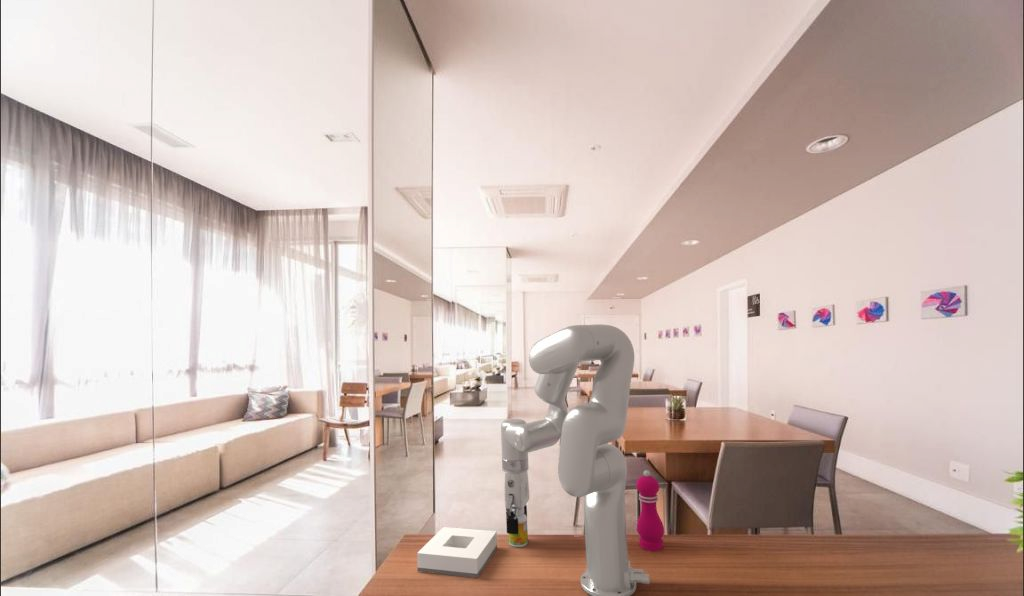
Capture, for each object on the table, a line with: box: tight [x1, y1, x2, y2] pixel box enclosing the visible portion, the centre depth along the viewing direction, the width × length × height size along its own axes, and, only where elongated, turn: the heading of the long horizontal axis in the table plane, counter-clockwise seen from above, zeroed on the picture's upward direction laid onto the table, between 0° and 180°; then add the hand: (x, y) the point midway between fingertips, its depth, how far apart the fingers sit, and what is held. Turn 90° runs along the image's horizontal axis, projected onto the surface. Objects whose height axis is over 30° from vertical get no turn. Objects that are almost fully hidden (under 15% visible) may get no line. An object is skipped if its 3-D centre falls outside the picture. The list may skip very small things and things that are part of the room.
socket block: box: [416, 526, 498, 579], centre depth 121 cm, size 16×16×4 cm
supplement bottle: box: [508, 506, 529, 548], centre depth 129 cm, size 5×5×10 cm
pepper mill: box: [635, 469, 665, 552], centre depth 125 cm, size 7×7×20 cm
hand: (517, 526), depth 129 cm, fingers open, 9 cm apart
